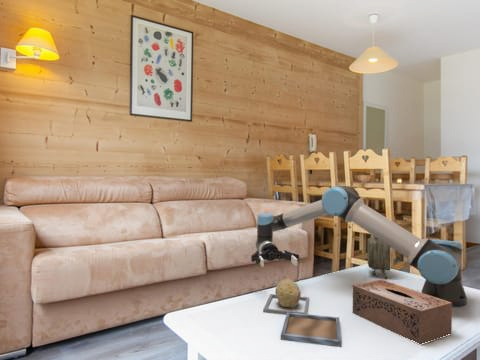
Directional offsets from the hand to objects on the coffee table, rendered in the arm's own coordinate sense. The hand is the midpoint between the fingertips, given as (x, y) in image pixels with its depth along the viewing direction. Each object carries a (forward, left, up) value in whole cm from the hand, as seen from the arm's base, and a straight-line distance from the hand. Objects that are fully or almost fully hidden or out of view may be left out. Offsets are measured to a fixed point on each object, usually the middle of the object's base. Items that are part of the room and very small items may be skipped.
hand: (279, 263), depth 137 cm
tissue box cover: (-41, +15, -14) cm, 45 cm away
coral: (-4, +9, -13) cm, 17 cm away
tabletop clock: (-42, -41, -13) cm, 60 cm away
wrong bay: (-4, +9, -13) cm, 17 cm away
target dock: (-14, +27, -13) cm, 33 cm away
